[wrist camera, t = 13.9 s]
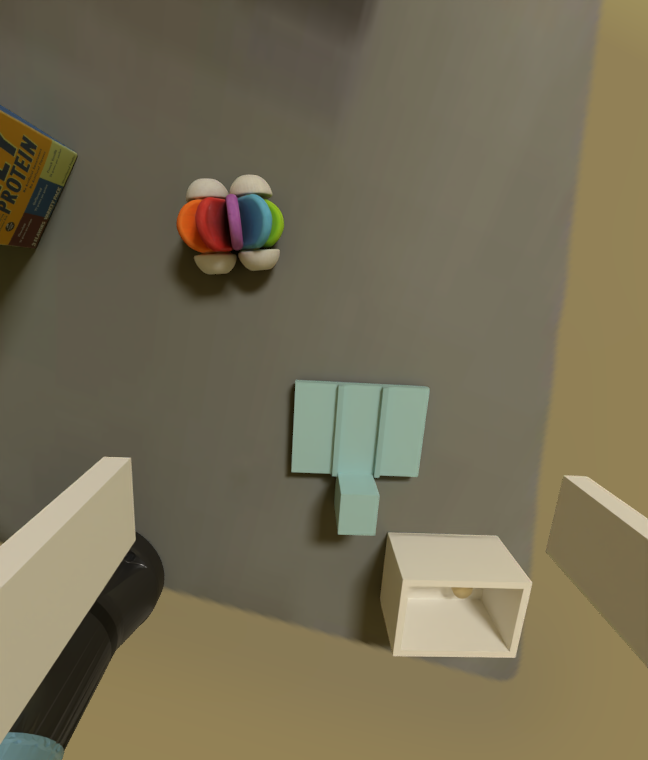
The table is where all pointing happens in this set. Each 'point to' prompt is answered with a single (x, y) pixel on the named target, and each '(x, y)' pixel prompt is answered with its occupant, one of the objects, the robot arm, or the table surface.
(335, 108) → the table surface
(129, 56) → the table surface
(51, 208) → the protein box
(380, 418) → the lid
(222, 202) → the rainbow disc toy
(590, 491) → the robot arm
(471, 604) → the tub
